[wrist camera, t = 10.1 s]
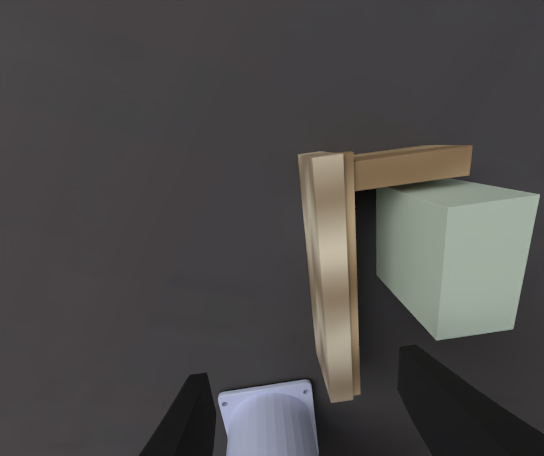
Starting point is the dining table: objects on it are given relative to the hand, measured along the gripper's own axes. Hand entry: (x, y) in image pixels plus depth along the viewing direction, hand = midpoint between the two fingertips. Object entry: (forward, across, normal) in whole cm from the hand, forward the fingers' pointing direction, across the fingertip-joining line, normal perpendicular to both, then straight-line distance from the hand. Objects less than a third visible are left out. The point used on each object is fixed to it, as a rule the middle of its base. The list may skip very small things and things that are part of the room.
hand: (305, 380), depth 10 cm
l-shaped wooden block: (+10, -6, 0) cm, 12 cm away
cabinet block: (+10, -9, -2) cm, 14 cm away
